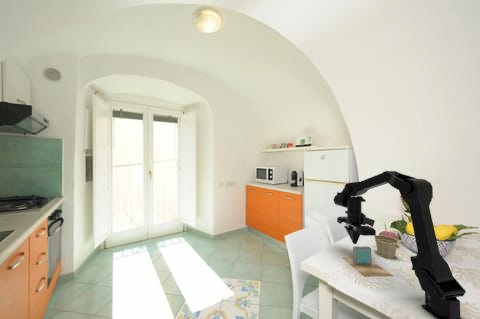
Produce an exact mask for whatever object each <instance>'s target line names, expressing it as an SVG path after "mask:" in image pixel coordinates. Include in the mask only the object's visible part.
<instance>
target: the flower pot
mask: <svg viewBox="0 0 480 319" xmlns="http://www.w3.org/2000/svg"><path fill="white" fill-rule="evenodd" d="M373 238H374V241H375V243H376V249H377V251H376V252H377V254H378V255H379V256H380V257H382V258H386V259H395V258H396V252H397V247H398V244H399V243H400V241H399V240H396V239H394V238H392V237H388V236H382V235H379V234H378V235H377V234H376V236H373Z"/></svg>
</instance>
